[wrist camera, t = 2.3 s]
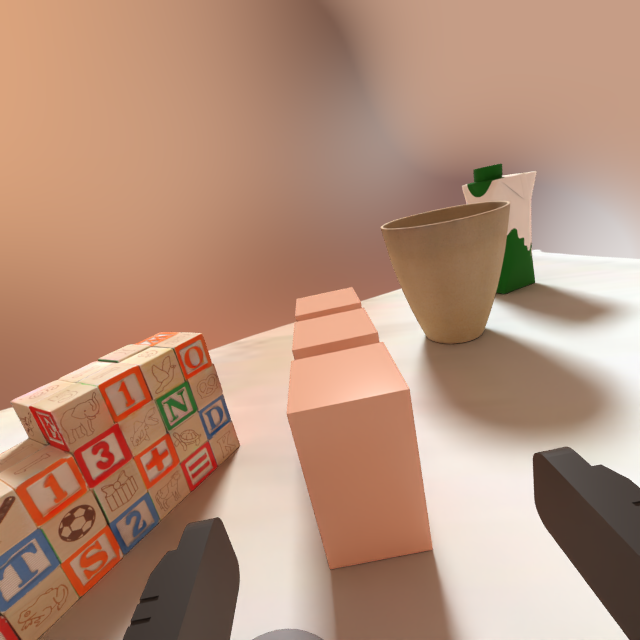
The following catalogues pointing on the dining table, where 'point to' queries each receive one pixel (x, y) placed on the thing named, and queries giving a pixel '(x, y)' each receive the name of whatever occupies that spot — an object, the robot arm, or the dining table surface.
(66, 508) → the stack of blocks
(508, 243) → the milk carton
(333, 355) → the salmon pink rectangular block
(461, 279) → the plant pot
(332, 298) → the peach rectangular block
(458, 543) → the dining table surface
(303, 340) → the salmon rectangular block
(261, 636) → the grey round disc
